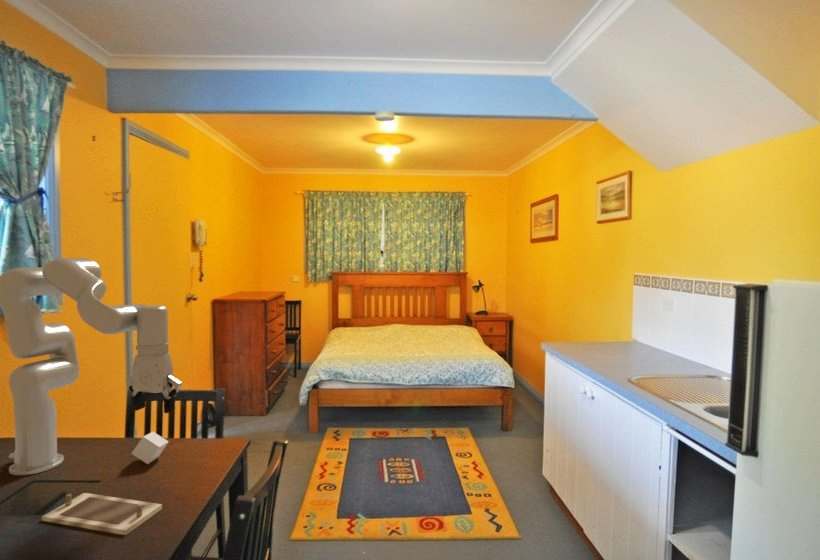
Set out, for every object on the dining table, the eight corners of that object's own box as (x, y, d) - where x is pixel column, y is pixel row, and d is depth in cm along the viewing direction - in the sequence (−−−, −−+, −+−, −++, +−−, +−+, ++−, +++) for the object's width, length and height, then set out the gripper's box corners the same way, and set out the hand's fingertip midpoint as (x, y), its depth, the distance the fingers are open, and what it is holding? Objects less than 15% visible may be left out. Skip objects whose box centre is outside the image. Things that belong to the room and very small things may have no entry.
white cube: (141, 447, 140) (153, 431, 140) (157, 458, 140) (168, 441, 140) (131, 453, 134) (143, 436, 134) (147, 464, 134) (159, 447, 135)
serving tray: (41, 521, 106) (41, 506, 106) (84, 497, 117) (83, 483, 116) (125, 535, 101) (125, 519, 101) (162, 508, 112) (161, 494, 111)
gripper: (115, 351, 121) (117, 412, 121) (169, 354, 117) (170, 417, 118) (138, 346, 128) (139, 403, 129) (189, 348, 124) (190, 408, 125)
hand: (154, 410), depth 123 cm, fingers open, 9 cm apart
